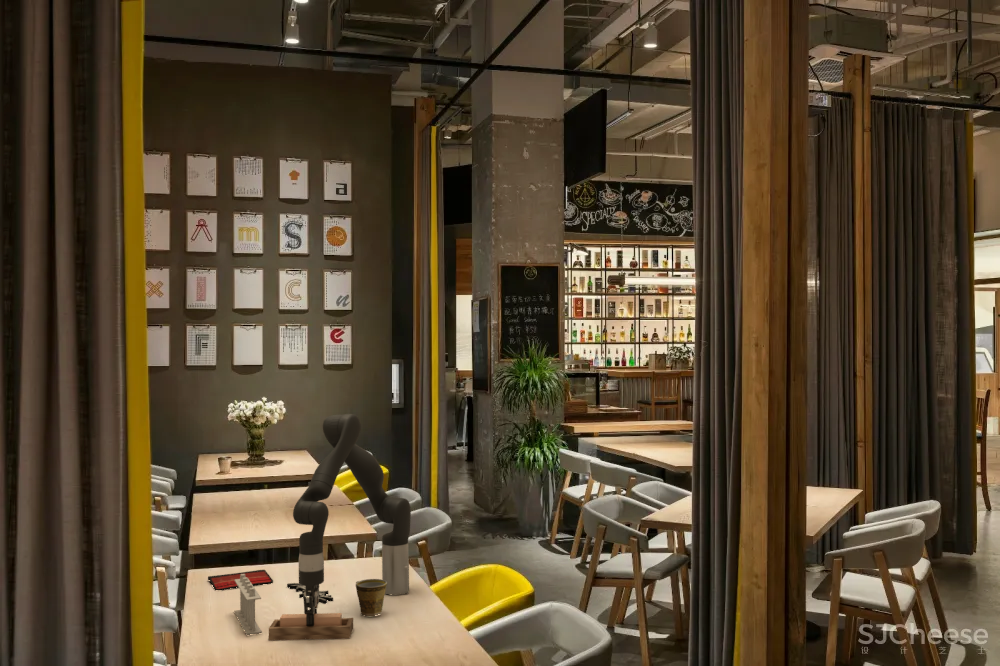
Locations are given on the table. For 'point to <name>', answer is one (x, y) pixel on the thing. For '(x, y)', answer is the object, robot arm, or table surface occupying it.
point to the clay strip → (319, 620)
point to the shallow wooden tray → (311, 631)
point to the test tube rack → (247, 605)
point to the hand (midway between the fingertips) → (311, 623)
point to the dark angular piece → (299, 587)
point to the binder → (228, 579)
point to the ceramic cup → (371, 596)
